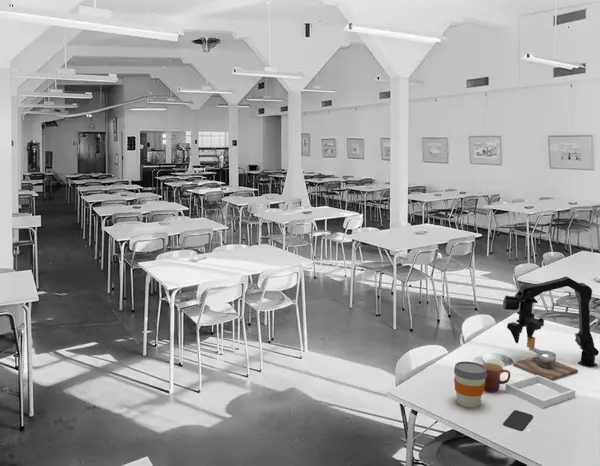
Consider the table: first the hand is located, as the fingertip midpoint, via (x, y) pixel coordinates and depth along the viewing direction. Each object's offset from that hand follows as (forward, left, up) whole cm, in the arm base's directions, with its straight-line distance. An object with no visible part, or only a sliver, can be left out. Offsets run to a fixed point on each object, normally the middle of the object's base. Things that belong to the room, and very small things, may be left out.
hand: (522, 341), depth 266 cm
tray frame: (+26, +29, -10) cm, 40 cm away
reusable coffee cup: (+59, +20, -10) cm, 63 cm away
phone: (+54, +40, -10) cm, 68 cm away
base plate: (0, +13, -10) cm, 16 cm away
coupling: (0, +10, -5) cm, 11 cm away
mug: (+40, +17, -10) cm, 44 cm away
